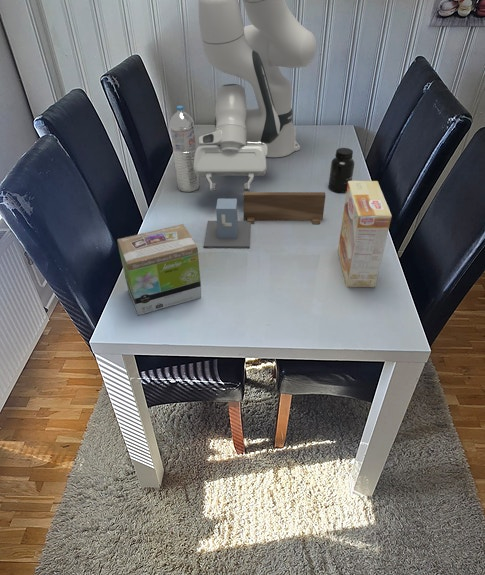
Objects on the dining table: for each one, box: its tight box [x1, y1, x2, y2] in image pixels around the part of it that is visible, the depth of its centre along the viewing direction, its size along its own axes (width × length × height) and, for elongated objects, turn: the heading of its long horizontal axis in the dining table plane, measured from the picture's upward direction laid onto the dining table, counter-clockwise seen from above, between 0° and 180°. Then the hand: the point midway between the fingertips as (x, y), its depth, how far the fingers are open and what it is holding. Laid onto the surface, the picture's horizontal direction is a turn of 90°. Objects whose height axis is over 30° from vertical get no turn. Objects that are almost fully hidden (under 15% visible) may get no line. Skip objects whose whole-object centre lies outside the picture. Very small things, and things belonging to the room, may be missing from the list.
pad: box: [203, 220, 252, 249], centre depth 120 cm, size 12×12×1 cm
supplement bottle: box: [328, 147, 355, 194], centre depth 134 cm, size 7×7×12 cm
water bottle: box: [169, 104, 200, 193], centre depth 132 cm, size 7×7×25 cm
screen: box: [242, 191, 327, 225], centre depth 123 cm, size 5×22×8 cm, turn 88°
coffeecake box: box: [337, 180, 393, 288], centre depth 102 cm, size 15×7×20 cm, turn 178°
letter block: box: [215, 198, 239, 238], centre depth 117 cm, size 5×5×9 cm
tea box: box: [117, 223, 202, 316], centre depth 98 cm, size 15×10×15 cm, turn 114°
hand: (229, 190), depth 123 cm, fingers open, 8 cm apart
